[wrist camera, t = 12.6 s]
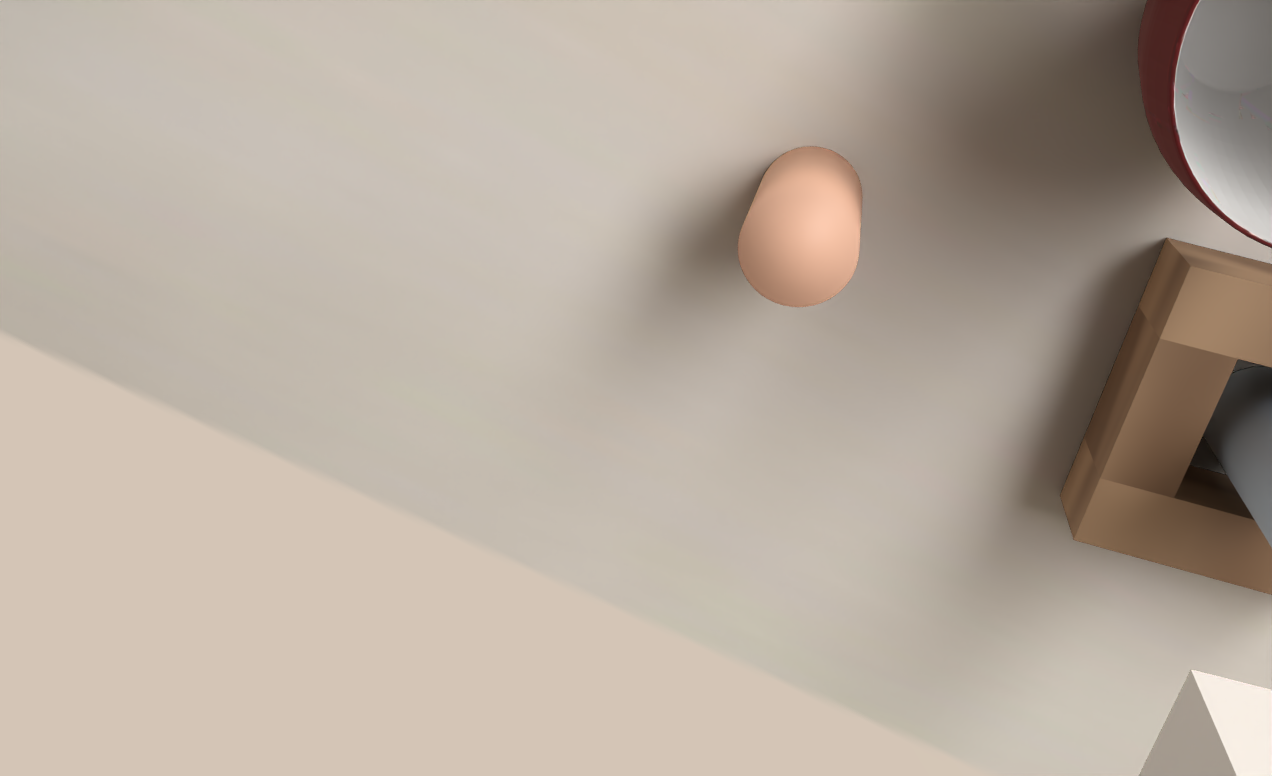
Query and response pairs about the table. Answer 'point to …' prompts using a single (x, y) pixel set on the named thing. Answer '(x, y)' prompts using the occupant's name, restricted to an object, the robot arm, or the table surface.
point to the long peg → (1246, 440)
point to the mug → (1213, 102)
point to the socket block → (1176, 422)
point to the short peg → (803, 228)
